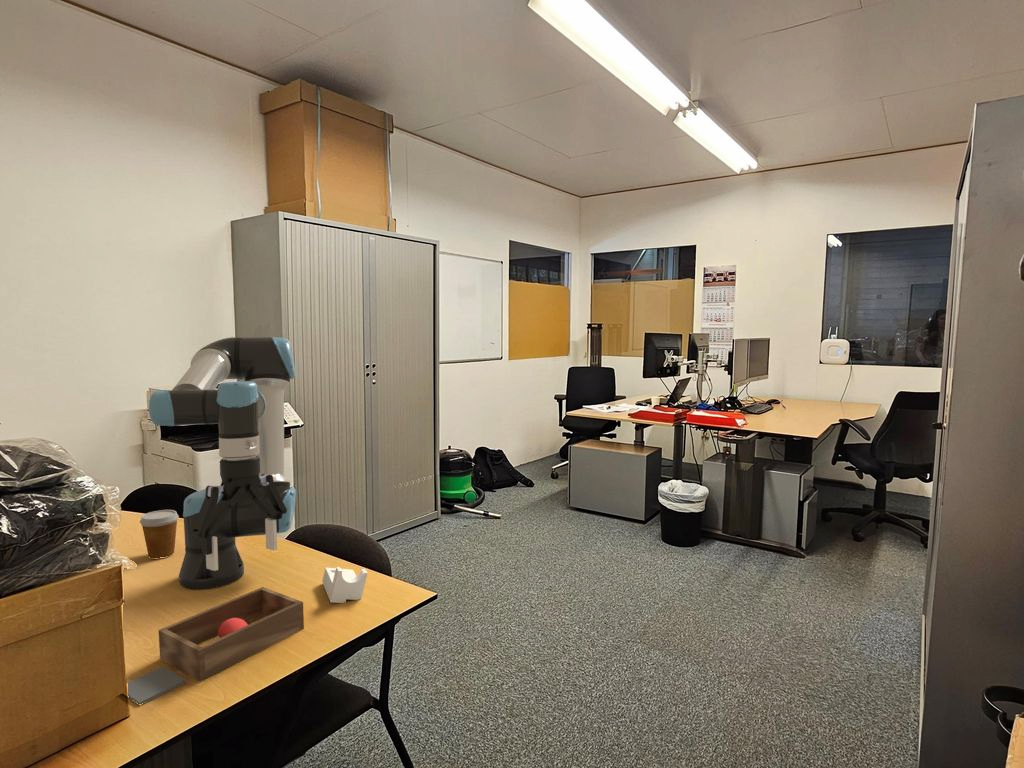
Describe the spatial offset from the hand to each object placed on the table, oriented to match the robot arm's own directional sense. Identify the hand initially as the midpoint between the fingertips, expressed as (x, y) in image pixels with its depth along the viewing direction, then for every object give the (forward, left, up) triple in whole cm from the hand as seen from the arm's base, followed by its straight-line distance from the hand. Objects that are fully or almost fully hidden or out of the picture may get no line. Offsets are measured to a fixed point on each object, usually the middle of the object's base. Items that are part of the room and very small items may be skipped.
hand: (243, 558), depth 122 cm
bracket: (0, +27, -18) cm, 32 cm away
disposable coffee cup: (-62, +15, -18) cm, 66 cm away
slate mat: (+1, -19, -17) cm, 26 cm away
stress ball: (0, -2, -18) cm, 18 cm away
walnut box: (0, -2, -17) cm, 18 cm away
